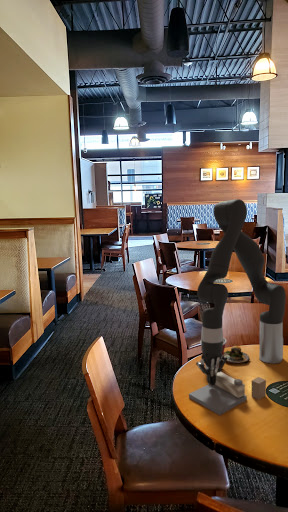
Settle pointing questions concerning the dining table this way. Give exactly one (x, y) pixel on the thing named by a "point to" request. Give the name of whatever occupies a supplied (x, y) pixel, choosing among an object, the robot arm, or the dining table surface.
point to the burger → (236, 355)
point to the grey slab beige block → (225, 396)
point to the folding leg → (230, 384)
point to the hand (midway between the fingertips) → (211, 384)
